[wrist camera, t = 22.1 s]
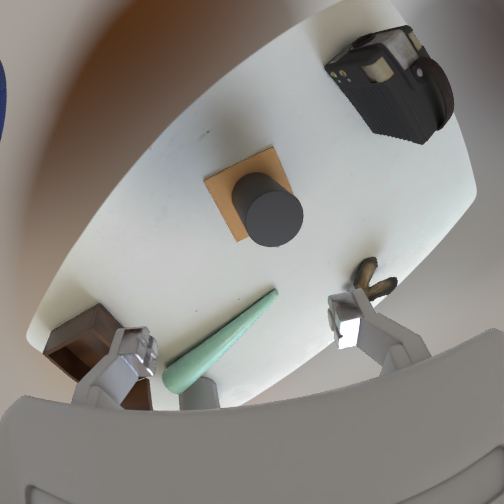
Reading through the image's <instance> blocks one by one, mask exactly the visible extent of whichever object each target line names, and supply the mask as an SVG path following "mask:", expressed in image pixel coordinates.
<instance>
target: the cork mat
mask: <svg viewBox="0 0 504 504" xmlns="http://www.w3.org/2000/svg"><path fill="white" fill-rule="evenodd" d="M254 172H259V173H264V174H266V175H268V176H270V177H271V178H272V179H274V180H275V181H276V182H277V183H279V184H280V185H281V186H283V187H284V188H285V189H286V190H288V191H289V192H290V193H291V194H293V192H292V190H291V187H290V185H289V183H288V180H287V178H286V175H285V173H284V170H283V168H282V166H281V163H280V161H279V158H278V156H277V154H276V151H275V149H274V147H271V148H269V149H267V150H265V151H263V152H260V153H258V154H256V155H254V156H252V157H250V158H248V159H246V160H244V161H242V162H239V163H237V164H235V165H233V166H231V167H229V168H227V169H225V170H223V171H222V172H220V173H218V174H216V175H214V176H212V177H210V178H208V179H206V180H204V183H205V185H206V186H207V188H208V190H209V192H210V194H211V196H212V197H213V199H214V201H215V203H216V205H217V207H218V208H219V210H220V212H221V214H222V216H223V218H224V219H225V221H226V223H227V225H228V227H229V228H230V230H231V232H232V234H233V236H234V238H235V239H236V241H237V242H239V241H240V240H242V239H244V238H246V237H248V236H249V235H248V233H247V231H246V229H245V227H244V225H243V223H242V221H241V219H240V217H239V215H238V213H237V212H236V210H235V208H234V206H233V203H232V190H233V188H234V185H235V184H236V182H237V181H238V180H239V179H240V178H241V177H243V176H245V175H246V174H249V173H254Z"/></svg>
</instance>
